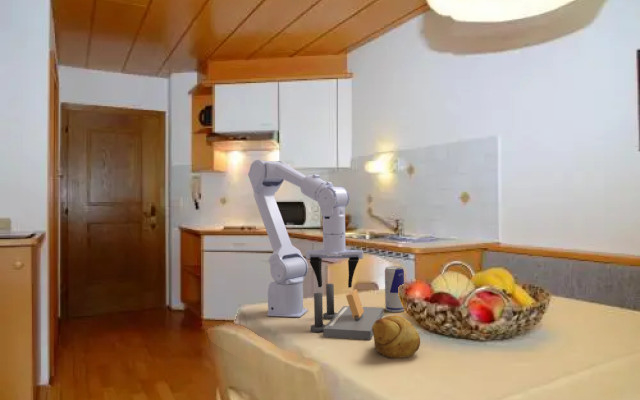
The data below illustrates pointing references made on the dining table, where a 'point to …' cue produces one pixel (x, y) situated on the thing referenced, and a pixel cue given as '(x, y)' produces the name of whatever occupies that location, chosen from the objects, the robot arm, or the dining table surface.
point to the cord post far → (329, 302)
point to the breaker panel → (353, 324)
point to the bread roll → (395, 337)
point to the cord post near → (318, 314)
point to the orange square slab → (355, 304)
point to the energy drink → (393, 288)
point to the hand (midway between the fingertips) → (335, 286)
